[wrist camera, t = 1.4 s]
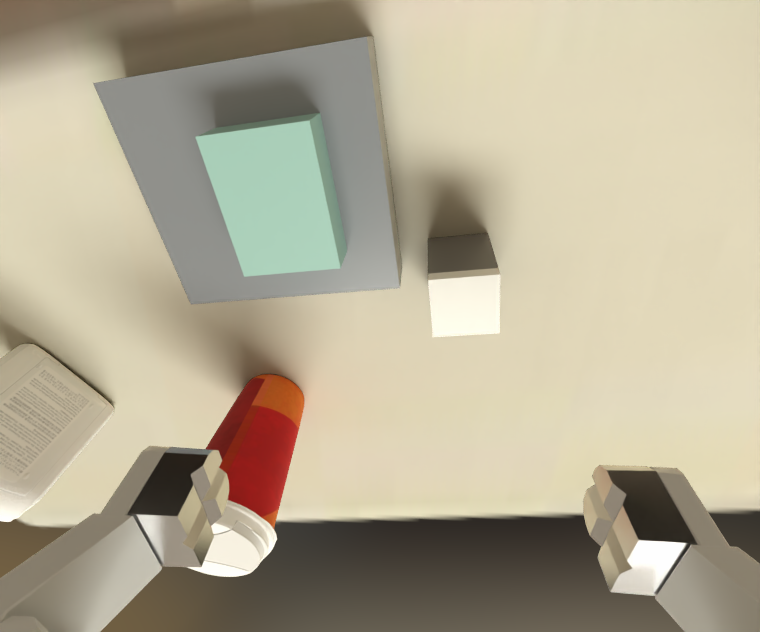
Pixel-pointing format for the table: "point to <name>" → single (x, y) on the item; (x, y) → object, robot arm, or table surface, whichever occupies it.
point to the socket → (247, 105)
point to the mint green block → (276, 194)
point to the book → (41, 425)
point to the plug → (463, 285)
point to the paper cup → (253, 472)
